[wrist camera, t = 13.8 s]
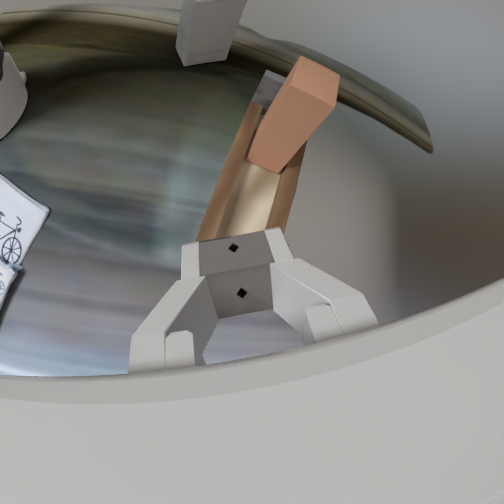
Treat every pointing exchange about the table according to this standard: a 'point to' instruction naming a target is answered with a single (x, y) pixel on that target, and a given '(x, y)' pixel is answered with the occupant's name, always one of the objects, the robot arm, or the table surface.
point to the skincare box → (207, 29)
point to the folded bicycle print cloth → (16, 230)
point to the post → (294, 114)
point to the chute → (251, 179)
